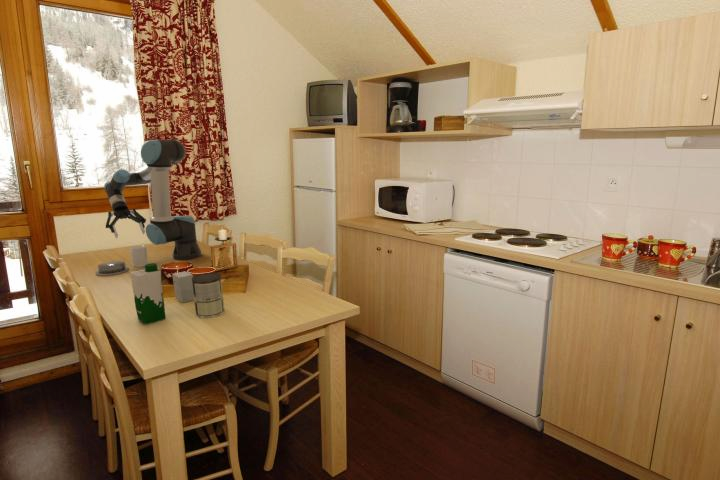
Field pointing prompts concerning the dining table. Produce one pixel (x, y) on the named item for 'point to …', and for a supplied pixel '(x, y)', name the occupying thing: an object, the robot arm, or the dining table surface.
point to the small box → (183, 286)
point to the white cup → (139, 255)
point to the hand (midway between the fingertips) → (130, 234)
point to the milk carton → (148, 294)
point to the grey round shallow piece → (111, 268)
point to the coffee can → (208, 295)
